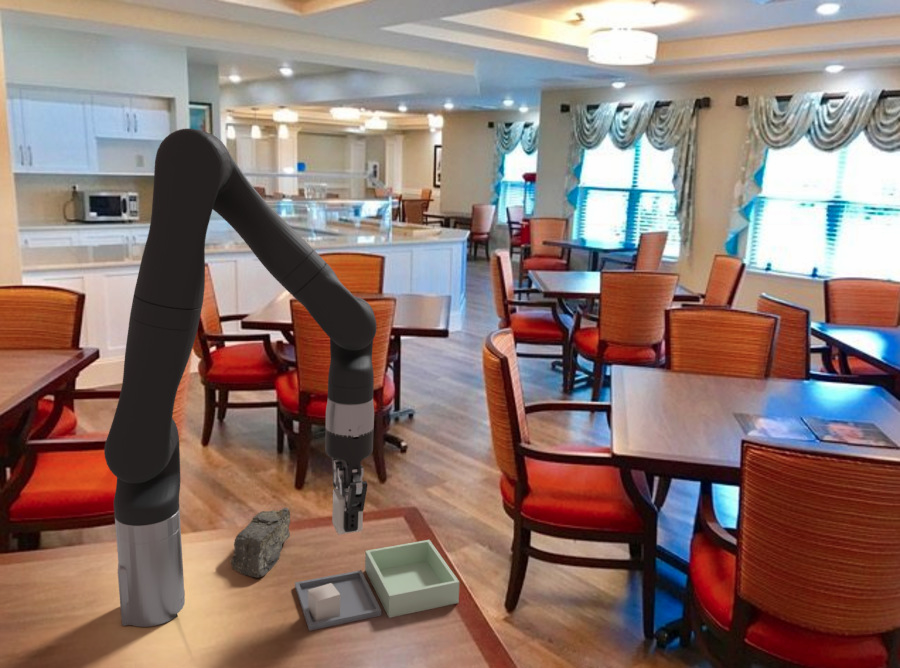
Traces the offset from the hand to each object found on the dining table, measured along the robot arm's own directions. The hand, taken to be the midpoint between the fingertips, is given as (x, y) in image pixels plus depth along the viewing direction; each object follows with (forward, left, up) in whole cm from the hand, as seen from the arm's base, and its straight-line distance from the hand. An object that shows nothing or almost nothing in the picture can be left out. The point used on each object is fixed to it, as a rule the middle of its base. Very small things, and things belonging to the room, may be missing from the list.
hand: (347, 523), depth 115 cm
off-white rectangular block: (0, 0, -1) cm, 1 cm away
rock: (-12, +17, -14) cm, 25 cm away
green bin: (+11, -2, -14) cm, 17 cm away
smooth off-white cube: (-5, -4, -13) cm, 14 cm away
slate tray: (-2, -2, -14) cm, 14 cm away
